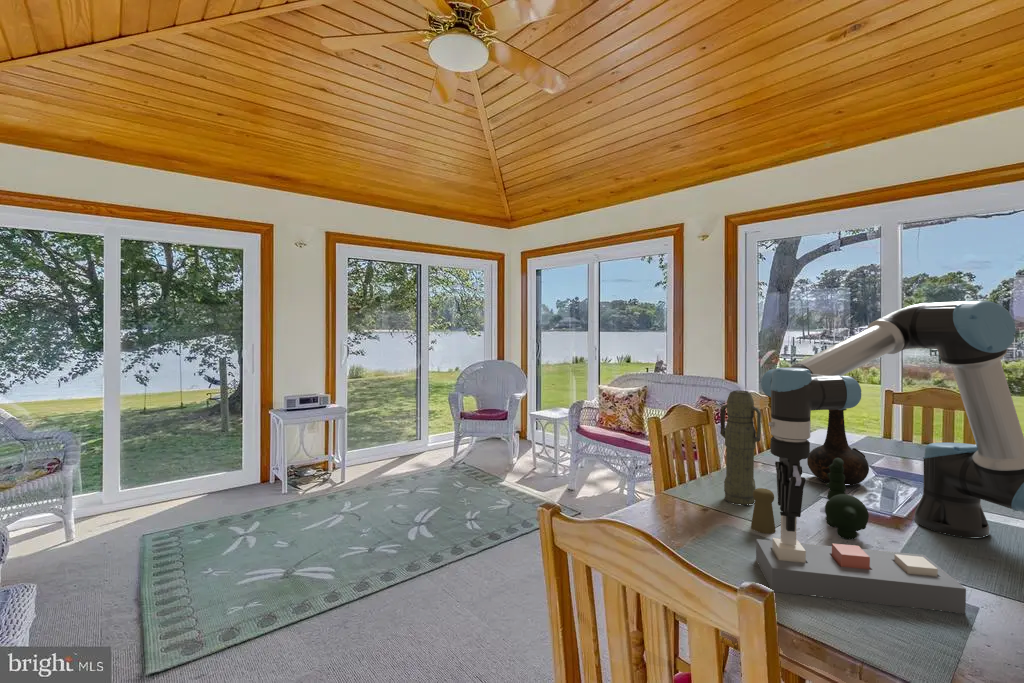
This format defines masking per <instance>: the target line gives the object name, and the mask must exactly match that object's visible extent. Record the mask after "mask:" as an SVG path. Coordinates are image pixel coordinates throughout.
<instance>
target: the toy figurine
mask: <svg viewBox="0 0 1024 683" xmlns="http://www.w3.org/2000/svg"><path fill="white" fill-rule="evenodd" d="M843 464H844V461H843V460H842V459H841V458H835V459H834V460H833V464H831V465H829V466H828V467H829V469H830V471H831V472H830V473H828V474H827V477H828V478H829V479H830V482H829V483H826V488H827V489H829V491H828V492H827V496H826V498H827V501H826V503H825V506H824V512H825V520H826V521H825V522H826V524H827V526H829V527H830V528H836V529H837V530H836V531H837V532H836V533H837V535H838V537H840V539H841V538H842V539H845V540H851V541H852V540H855V539H857V537H858V533H857V532H858V531H862V530H865V529H866V528H867V524H868V523H869V518H870V514H869V511H868V508H867V507H866V505H865V504H864V503H863V501H861V500H860V499H859V498H857V497H855V496H854V495H851V494H847V493H846V490H847V488H846V487H847V486H845V484H844V483H843V482H844V481H845V476H844V474H843V472H844V468H843Z"/></svg>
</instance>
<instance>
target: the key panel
mask: <svg viewBox="0 0 1024 683" xmlns="http://www.w3.org/2000/svg"><path fill="white" fill-rule="evenodd" d="M772 542H773V540H772V539H771V540H769V539H759V538H756V540H755V543H756V546H755V548H756V549H755V560H756V563H757V564H758V563H759V564H758V566H759V568H760V570H761V572H762V574H763V576H764V578H765V580H766V581H767V584H768V586H769V588H770V590H771V589H772V590H774V591H773V592H774V593H775V592H776V593H784V594H791V593H793V595H799V594H804V595H803V596H808V595H816V596H823V597H822V598H825V597H831V598H830V599H833V598H838V599H837V600H842V599H845V600H844V601H850V600H853V602H859V601H860V603H867V602H868V603H870V604H878V605H887V606H894V607H902V608H910V607H914V608H913V609H918V608H924V609H923V610H927V609H934V610H933V611H935V610H942V611H941V612H944V611H950V612H949V613H952V612H957V613H956V614H961V613H962V614H961V615H966V606H967V604H966V603H967V588H966V587H965V586H963V585H962V584H961V583H960V582H958V581H957V580H956V579H955V578H953V577H952V576H951V575H950V574H948V573H947V572H946V571H945V570H944V569H942V568H941V567H940V566H939V565H937V564H936V563H935V562H934V561H933V560H931V559H930V558H928V557H927V556H926V555H925V554H919V553H908V552H899V551H888V550H887V551H886V550H877V549H876V550H875V549H868V548H867V549H866V548H861V549H862V550H863V551H864V552H865V553H866V554H867V555H868V556H869V557H870V570H869V569H859V568H849V567H840V566H839V565H838V564H837V562H836V561H835V560H834V559H833V558H832V545H821V544H814V543H813V544H810V543H801V542H800V544H801V545H802V546H803V548H804V549H805V551H806V563H800V562H791V561H781V560H777V558H776V557H775V555H774V553H773V552H772ZM895 554H898V555H909V556H919V557H924V558H925V559H926V560H927V561H929V562H930V563H931V564H932V565H933V566H935V567H936V568H937V569H938V575H937V576H927V575H917V574H908V573H905V572H904V571H903V570H902V569H901V568H900V567H899V566H898V565H897V564H896V563H895V562H894V556H895ZM772 590H771V591H772ZM794 593H795V594H794ZM816 596H815V597H816Z"/></svg>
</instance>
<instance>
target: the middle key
mask: <svg viewBox="0 0 1024 683" xmlns="http://www.w3.org/2000/svg"><path fill="white" fill-rule="evenodd" d="M831 546H832V558H833V559H834V560H835V561H836V562H837V564H838V565H839V566H840V567H849V568H859V569H869V570H870V557H869V556H868V555H867V554H866V553H865V552H864V551H863V550H862V549H863V548H861V547H860V546H859V545H855V544H854V545H852V544H844V543H843V544H841V543H831Z"/></svg>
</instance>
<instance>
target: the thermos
mask: <svg viewBox="0 0 1024 683" xmlns="http://www.w3.org/2000/svg"><path fill="white" fill-rule="evenodd" d="M726 401H727V402H726V404H724V405H722V406H721V407H720V409H719V414H720V415H719V417H720V422H719V424H720V432H719V433H720V435H721V437H723V439H724V445H725V448H726V454H725V455H726V457H725V458H726V460H725V461H726V462H725V463H726V464H725V466H726V469H725V470H726V471H725V472H726V473H725V479H724V482H723V485H724V488H723V492H724V500H725V501H726V500H727V501H728V502H727V501H726V502H727V503H729V502H730V503H729V504H731V503H734V504H741V505H747V504H748V505H749V504H753V503H754V502H755V500H754V498H753V491H754V490H755V489H756V481H755V478H754V477H755V475H754V473H755V471H754V470H755V468H754V467H755V466H754V465H755V464H754V462H755V450H756V445H757V444H756V442H757V443H759V442H760V441H761V435H762V427H761V426H762V412H761V410H760V408H759V407H756V406H755V401H754V398H753V395H752V393H751V392H749V391H747V390H732V391H730V392H729V394H728V397H727V400H726ZM726 410H727V411H726ZM755 412H756V414H757V416H756V422H757V423H756V426H757V427H756V428H755V425H754V423H755V422H754V417H755V416H754V415H755ZM726 414H727V419H726ZM734 504H733V505H734ZM754 504H755V503H754Z"/></svg>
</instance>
